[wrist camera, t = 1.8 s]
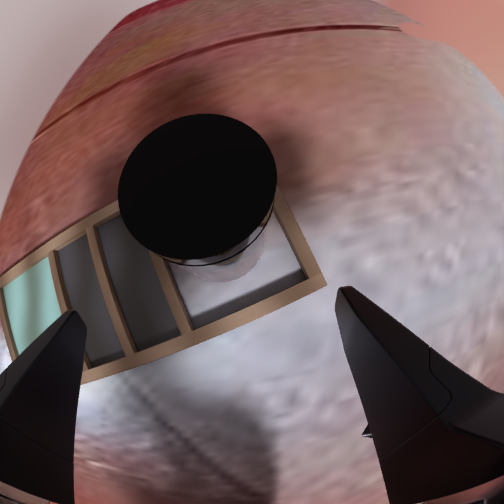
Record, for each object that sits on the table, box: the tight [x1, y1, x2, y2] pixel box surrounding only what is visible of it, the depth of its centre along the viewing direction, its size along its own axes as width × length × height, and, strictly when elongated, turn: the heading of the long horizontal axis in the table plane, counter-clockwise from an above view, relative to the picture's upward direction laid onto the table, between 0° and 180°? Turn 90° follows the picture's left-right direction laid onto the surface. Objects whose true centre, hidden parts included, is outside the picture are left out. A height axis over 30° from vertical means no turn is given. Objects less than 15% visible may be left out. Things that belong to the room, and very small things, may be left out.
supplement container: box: [118, 114, 277, 282], centre depth 15 cm, size 7×7×10 cm
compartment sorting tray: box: [0, 185, 327, 385], centre depth 19 cm, size 31×13×1 cm, turn 114°
